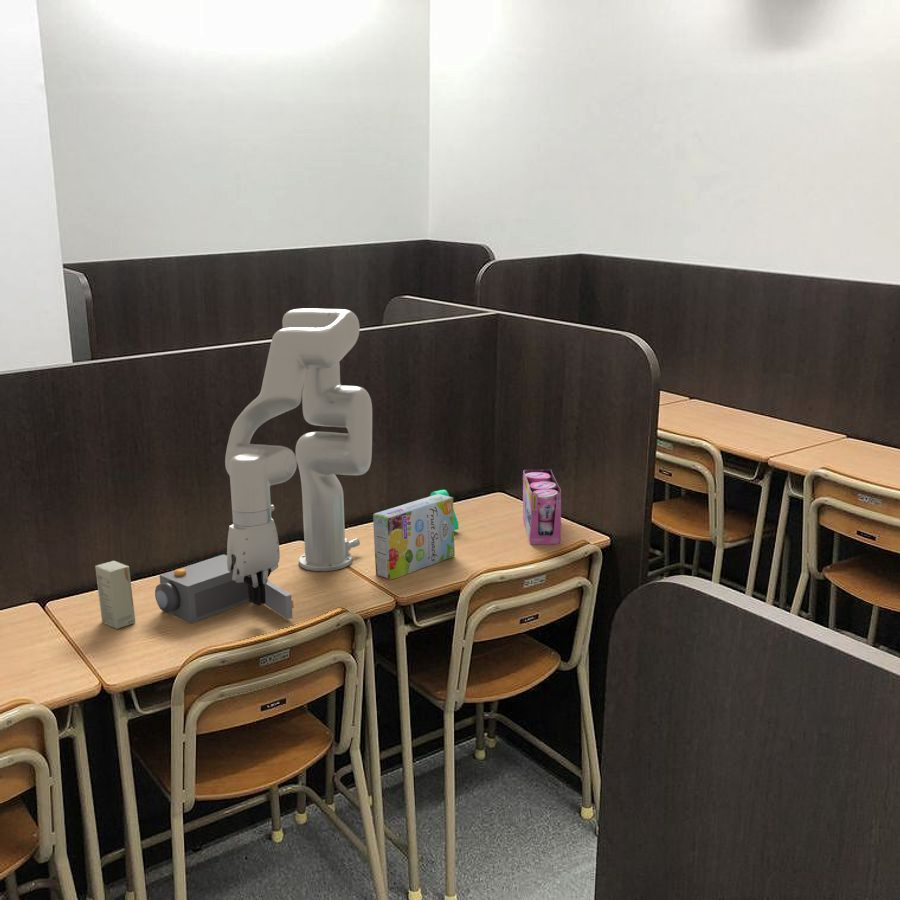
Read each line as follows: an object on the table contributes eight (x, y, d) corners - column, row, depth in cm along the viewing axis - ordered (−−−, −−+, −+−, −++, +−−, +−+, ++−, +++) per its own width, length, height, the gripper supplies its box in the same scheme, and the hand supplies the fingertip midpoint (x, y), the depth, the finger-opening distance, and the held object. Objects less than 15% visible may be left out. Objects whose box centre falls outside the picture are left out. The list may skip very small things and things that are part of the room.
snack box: (438, 551, 231) (438, 492, 227) (455, 557, 227) (455, 497, 223) (374, 575, 216) (372, 512, 212) (390, 581, 212) (388, 517, 209)
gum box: (562, 546, 233) (563, 494, 230) (530, 547, 233) (530, 494, 230) (551, 517, 257) (551, 469, 253) (522, 517, 257) (522, 469, 253)
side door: (253, 597, 202) (251, 575, 200) (262, 594, 203) (260, 573, 202) (286, 619, 190) (285, 596, 189) (296, 616, 191) (294, 593, 190)
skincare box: (136, 623, 191) (131, 566, 188) (116, 630, 188) (110, 572, 185) (119, 615, 195) (114, 559, 192) (100, 621, 192) (94, 564, 189)
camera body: (225, 588, 209) (223, 550, 207) (254, 599, 202) (252, 561, 200) (151, 614, 195) (148, 574, 193) (179, 627, 189) (176, 586, 187)
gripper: (269, 504, 194) (274, 587, 199) (209, 521, 183) (215, 609, 188) (293, 510, 190) (298, 596, 194) (232, 529, 179) (239, 619, 183)
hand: (257, 602), depth 191 cm, fingers closed
